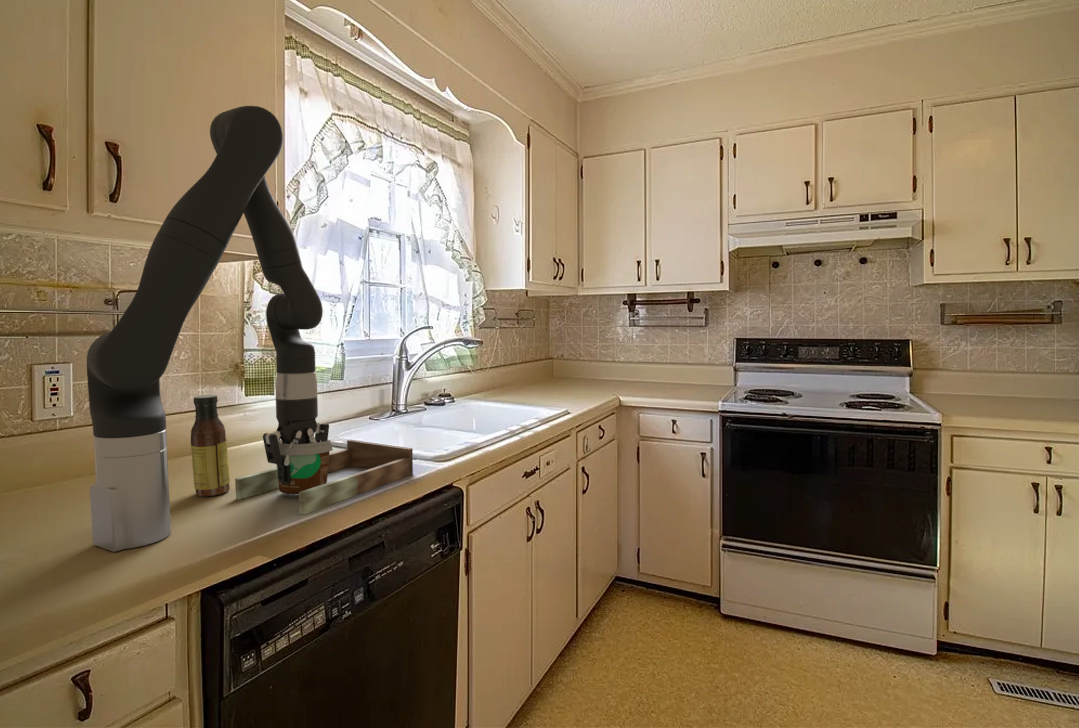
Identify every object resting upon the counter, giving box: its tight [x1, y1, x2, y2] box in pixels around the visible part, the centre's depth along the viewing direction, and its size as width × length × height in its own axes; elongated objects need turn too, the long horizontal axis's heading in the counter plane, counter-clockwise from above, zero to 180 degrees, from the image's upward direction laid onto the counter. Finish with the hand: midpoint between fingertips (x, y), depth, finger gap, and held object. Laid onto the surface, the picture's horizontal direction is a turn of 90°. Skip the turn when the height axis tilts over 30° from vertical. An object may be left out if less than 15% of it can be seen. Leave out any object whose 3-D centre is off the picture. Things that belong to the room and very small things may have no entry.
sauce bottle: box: [190, 394, 231, 498], centre depth 110 cm, size 6×6×20 cm
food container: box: [275, 438, 333, 495], centre depth 109 cm, size 12×6×10 cm, turn 80°
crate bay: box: [234, 439, 414, 515], centre depth 117 cm, size 30×19×6 cm, turn 153°
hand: (298, 479), depth 109 cm, fingers closed on food container, 5 cm apart
